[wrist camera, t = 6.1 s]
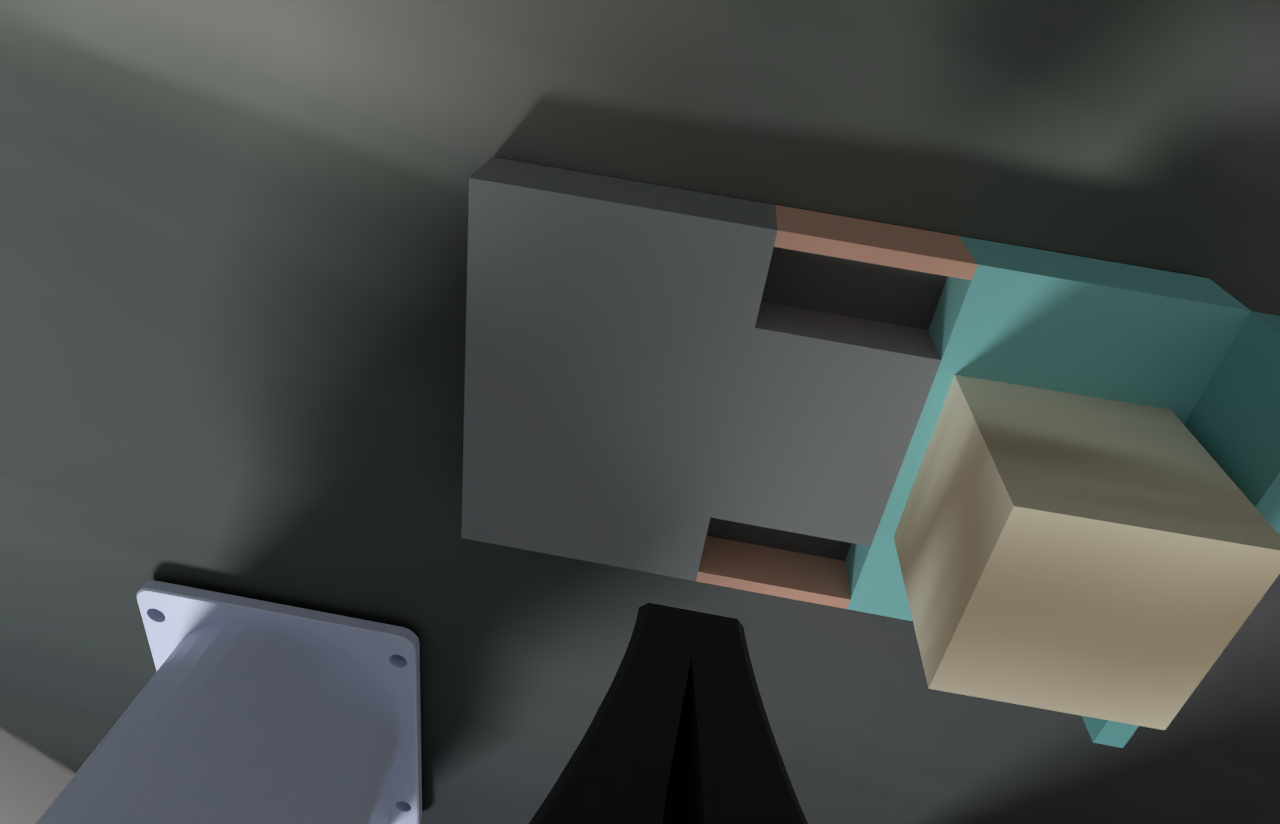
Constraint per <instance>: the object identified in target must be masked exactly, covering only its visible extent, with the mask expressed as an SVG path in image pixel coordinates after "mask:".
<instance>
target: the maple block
mask: <svg viewBox="0 0 1280 824" xmlns="http://www.w3.org/2000/svg"><path fill="white" fill-rule="evenodd" d="M894 542H895V546H896V550H897V555H898V559H899V563H900V568H901V572H902V576H903V581H904V585H905V589H906V594H907V598H908V602H909V607H910V611H911V615H912V619H913V624H914V628H915V632H916V637H917V641H918V645H919V650H920V654H921V658H922V663H923V667H924V671H925V676H926V680H927V684H928V689H934V690H939V691H945V692H951V693H956V694H962V695H968V696H973V697H979V698H985V699H990V700H996V701H1002V702H1007V703H1013V704H1019V705H1024V706H1030V707H1036V708H1041V709H1047V710H1053V711H1058V712H1064V713H1070V714H1075V715H1081V716H1087V717H1092V718H1098V719H1104V720H1109V721H1115V722H1121V723H1126V724H1132V725H1138V726H1143V727H1149V728H1155V729H1160V730H1166V728H1167V727H1168V725H1169V724H1170V723H1171V721H1172V720H1173V719H1174V717H1175V716H1176V715H1177V713H1178V712H1179V710H1180V709H1181V708H1182V706H1183V705H1184V704H1185V702H1186V701H1187V700H1188V698H1189V697H1190V695H1191V694H1192V693H1193V691H1194V690H1195V689H1196V687H1197V686H1198V684H1199V683H1200V682H1201V680H1202V679H1203V678H1204V676H1205V675H1206V674H1207V672H1208V671H1209V669H1210V668H1211V667H1212V665H1213V664H1214V663H1215V661H1216V660H1217V659H1218V657H1219V656H1220V654H1221V653H1222V652H1223V650H1224V649H1225V648H1226V646H1227V645H1228V643H1229V642H1230V641H1231V639H1232V638H1233V637H1234V635H1235V634H1236V633H1237V631H1238V630H1239V628H1240V627H1241V626H1242V624H1243V623H1244V622H1245V620H1246V619H1247V618H1248V616H1249V615H1250V613H1251V612H1252V611H1253V609H1254V608H1255V607H1256V605H1257V604H1258V602H1259V601H1260V600H1261V598H1262V597H1263V596H1264V594H1265V593H1266V592H1267V590H1268V589H1269V587H1270V586H1271V585H1272V583H1273V582H1274V581H1275V579H1276V578H1277V577H1278V575H1279V574H1280V535H1279V534H1278V533H1277V532H1276V531H1275V530H1274V528H1273V527H1272V526H1271V525H1270V524H1269V523H1268V522H1267V520H1266V519H1265V518H1264V517H1263V516H1262V515H1261V513H1260V512H1259V511H1258V510H1257V509H1256V508H1255V506H1254V505H1253V504H1252V503H1251V502H1250V501H1249V500H1248V498H1247V497H1246V496H1245V495H1244V494H1243V493H1242V491H1241V490H1240V489H1239V488H1238V487H1237V486H1236V484H1235V483H1234V482H1233V481H1232V480H1231V479H1230V478H1229V476H1228V475H1227V474H1226V473H1225V472H1224V471H1223V469H1222V468H1221V467H1220V466H1219V465H1218V464H1217V462H1216V461H1215V460H1214V459H1213V458H1212V457H1211V456H1210V454H1209V453H1208V452H1207V451H1206V450H1205V449H1204V447H1203V446H1202V445H1201V444H1200V443H1199V442H1198V440H1197V439H1196V438H1195V437H1194V436H1193V435H1192V434H1191V432H1190V431H1189V430H1188V429H1187V428H1186V427H1185V425H1184V424H1183V423H1182V422H1181V421H1180V420H1179V418H1178V417H1177V416H1176V415H1175V414H1174V413H1173V412H1172V410H1171V409H1164V408H1158V407H1152V406H1146V405H1140V404H1134V403H1127V402H1121V401H1115V400H1109V399H1103V398H1096V397H1090V396H1084V395H1078V394H1072V393H1065V392H1059V391H1053V390H1047V389H1041V388H1034V387H1028V386H1022V385H1016V384H1010V383H1004V382H997V381H991V380H985V379H979V378H973V377H966V376H960V375H954V377H953V380H952V383H951V385H950V388H949V391H948V393H947V396H946V399H945V401H944V404H943V407H942V409H941V412H940V415H939V417H938V420H937V423H936V425H935V428H934V430H933V433H932V436H931V438H930V441H929V444H928V446H927V449H926V452H925V454H924V457H923V460H922V462H921V465H920V468H919V470H918V473H917V476H916V478H915V481H914V484H913V486H912V489H911V492H910V494H909V497H908V500H907V502H906V505H905V508H904V510H903V513H902V516H901V518H900V521H899V524H898V526H897V529H896V532H895V534H894Z"/></svg>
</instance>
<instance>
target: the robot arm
mask: <svg viewBox="0 0 1280 824" xmlns="http://www.w3.org/2000/svg"><path fill="white" fill-rule="evenodd" d="M137 601H138V605H139V609H140V612H141V616H142V620H143V623H144V627H145V631H146V634H147V638H148V641H149V645H150V649H151V652H152V656H153V660H154V663H155V667H156V671H157V672H156V673H155V674H154V676H153V677H152V678H151V680H150V681H149V682H148V683H147V685H146V686H145V687H144V688H143V690H142V691H141V692H140V693H139V695H138V696H137V697H136V698H135V700H134V701H133V702H132V703H131V705H130V706H129V707H128V708H127V710H126V711H125V712H124V713H123V715H122V716H121V717H120V718H119V720H118V721H117V722H116V724H115V725H114V726H113V727H112V729H111V730H110V731H109V732H108V734H107V735H106V736H105V737H104V739H103V740H102V741H101V742H100V744H99V745H98V746H97V747H96V749H95V750H94V751H93V752H92V754H91V755H90V756H89V757H88V759H87V760H86V761H85V762H84V764H83V765H82V766H81V768H80V769H79V770H78V771H77V773H76V774H75V775H74V776H73V778H72V779H71V780H70V781H69V783H68V784H67V785H66V786H65V788H64V789H63V790H62V791H61V793H60V794H59V795H58V797H57V798H56V799H55V800H54V802H53V803H52V804H51V805H50V807H49V808H48V809H47V810H46V812H45V813H44V814H43V815H42V817H41V818H40V819H39V820H38V822H37V823H36V824H420V822H421V819H422V766H421V704H420V643H419V639H418V637H417V636H416V635H415V633H414V632H412V631H411V630H409V629H407V628H404V627H400V626H395V625H390V624H384V623H379V622H374V621H368V620H363V619H358V618H352V617H347V616H342V615H336V614H331V613H326V612H321V611H315V610H310V609H305V608H299V607H294V606H289V605H283V604H278V603H273V602H267V601H262V600H257V599H251V598H246V597H241V596H235V595H230V594H225V593H219V592H214V591H209V590H203V589H198V588H193V587H188V586H182V585H177V584H172V583H166V582H161V581H149V582H146V583H145V584H144V585H143V587H142V588H141V589H140V590H139V591H138V592H137ZM529 824H808V823H807V821H806V818H805V816H804V814H803V811H802V809H801V807H800V804H799V802H798V799H797V797H796V794H795V792H794V789H793V787H792V784H791V782H790V779H789V777H788V774H787V771H786V769H785V766H784V763H783V760H782V758H781V755H780V752H779V749H778V747H777V744H776V741H775V738H774V736H773V733H772V730H771V727H770V724H769V721H768V718H767V715H766V712H765V709H764V706H763V703H762V699H761V696H760V693H759V689H758V686H757V683H756V679H755V676H754V672H753V668H752V665H751V661H750V657H749V652H748V648H747V644H746V639H745V634H744V628H743V626H742V625H741V623H740V622H739V621H738V620H737V619H734V618H729V617H723V616H718V615H712V614H707V613H701V612H696V611H690V610H685V609H679V608H674V607H668V606H663V605H657V604H652V603H647V604H645V605H643V606H641V607H639V611H638V615H637V620H636V624H635V627H634V630H633V634H632V637H631V640H630V642H629V645H628V648H627V650H626V653H625V655H624V658H623V660H622V662H621V664H620V667H619V669H618V671H617V673H616V676H615V678H614V680H613V682H612V684H611V686H610V688H609V690H608V692H607V694H606V696H605V698H604V700H603V702H602V704H601V706H600V707H599V709H598V711H597V713H596V715H595V717H594V719H593V721H592V723H591V725H590V727H589V728H588V730H587V732H586V734H585V736H584V737H583V739H582V741H581V742H580V744H579V746H578V747H577V749H576V751H575V752H574V754H573V755H572V757H571V759H570V760H569V762H568V764H567V765H566V767H565V769H564V770H563V772H562V774H561V775H560V777H559V779H558V780H557V782H556V783H555V785H554V787H553V788H552V790H551V791H550V793H549V794H548V796H547V797H546V799H545V800H544V802H543V803H542V805H541V806H540V808H539V810H538V811H537V813H536V814H535V815H534V817H533V818H532V820H531V821H530V823H529Z"/></svg>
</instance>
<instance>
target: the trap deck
mask: <svg viewBox="0 0 1280 824" xmlns="http://www.w3.org/2000/svg"><path fill="white" fill-rule="evenodd" d="M954 375H960V376H966V377H973V378H979V379H985V380H991V381H997V382H1004V383H1010V384H1016V385H1022V386H1028V387H1034V388H1041V389H1047V390H1053V391H1059V392H1065V393H1072V394H1078V395H1084V396H1090V397H1096V398H1103V399H1109V400H1115V401H1121V402H1127V403H1134V404H1140V405H1146V406H1152V407H1158V408H1164V409H1171V410H1172V412H1173V413H1174V414H1175V415H1176V416H1177V417H1178V418H1179V420H1180V421H1181V422H1182V423H1183V424H1184V425H1185V427H1186V428H1187V429H1188V430H1189V431H1190V432H1191V434H1192V435H1193V436H1194V437H1195V438H1196V439H1197V440H1198V442H1199V443H1200V444H1201V445H1202V446H1203V447H1204V449H1205V450H1206V451H1207V452H1208V453H1209V454H1210V456H1211V457H1212V458H1213V459H1214V460H1215V461H1216V462H1217V464H1218V465H1219V466H1220V467H1221V468H1222V469H1223V471H1224V472H1225V473H1226V474H1227V475H1228V476H1229V478H1230V479H1231V480H1232V481H1233V482H1234V483H1235V484H1236V486H1237V487H1238V488H1239V489H1240V490H1241V491H1242V493H1243V494H1244V495H1245V496H1246V497H1247V498H1248V500H1249V501H1250V502H1251V503H1252V504H1253V505H1254V506H1255V508H1256V509H1257V510H1258V511H1259V512H1260V513H1261V515H1262V516H1263V517H1264V518H1265V519H1266V520H1267V522H1268V523H1269V524H1270V525H1271V526H1272V527H1273V528H1274V530H1275V531H1276V532H1277V533H1278V534H1279V533H1280V316H1277V315H1271V314H1266V313H1260V312H1254V311H1251V310H1249V309H1248V308H1247V307H1245V306H1244V305H1243V304H1242V303H1240V302H1239V301H1238V300H1236V299H1235V298H1234V297H1232V296H1231V295H1230V294H1229V293H1227V292H1226V291H1225V290H1223V289H1222V288H1221V287H1220V286H1218V285H1217V284H1216V283H1214V282H1213V281H1212V280H1211V279H1209V278H1204V277H1198V276H1192V275H1186V274H1181V273H1175V272H1169V271H1163V270H1157V269H1151V268H1145V267H1139V266H1133V265H1127V264H1122V263H1116V262H1110V261H1104V260H1098V259H1092V258H1086V257H1080V256H1074V255H1068V254H1063V253H1057V252H1051V251H1045V250H1039V249H1033V248H1027V247H1021V246H1015V245H1009V244H1004V243H998V242H992V241H986V240H980V239H974V238H968V237H962V236H956V235H950V234H945V233H939V232H933V231H927V230H921V229H915V228H909V227H903V226H897V225H891V224H886V223H880V222H874V221H868V220H862V219H856V218H850V217H844V216H838V215H832V214H827V213H821V212H815V211H809V210H803V209H797V208H791V207H785V206H779V205H773V204H768V203H762V202H756V201H750V200H744V199H738V198H732V197H726V196H720V195H714V194H709V193H703V192H697V191H691V190H685V189H679V188H673V187H667V186H661V185H655V184H650V183H644V182H638V181H632V180H626V179H620V178H614V177H608V176H602V175H596V174H591V173H585V172H579V171H573V170H567V169H561V168H555V167H549V166H543V165H537V164H532V163H526V162H520V161H514V160H508V159H502V158H496V157H492V158H491V159H489V160H488V161H487V162H486V163H485V164H484V165H483V166H482V167H480V168H479V169H478V170H477V171H476V172H475V173H474V174H473V175H472V176H470V177H469V205H468V251H467V297H466V344H465V390H464V437H463V483H462V529H461V538H464V539H469V540H474V541H480V542H485V543H491V544H496V545H502V546H507V547H512V548H518V549H523V550H529V551H534V552H540V553H545V554H550V555H556V556H561V557H567V558H572V559H578V560H583V561H588V562H594V563H599V564H605V565H610V566H616V567H621V568H626V569H632V570H637V571H643V572H648V573H654V574H659V575H664V576H670V577H675V578H681V579H686V580H692V581H697V582H702V583H708V584H713V585H719V586H724V587H730V588H735V589H740V590H746V591H751V592H757V593H762V594H768V595H773V596H778V597H784V598H789V599H795V600H800V601H806V602H811V603H816V604H822V605H827V606H833V607H838V608H844V609H849V610H854V611H860V612H865V613H871V614H876V615H882V616H887V617H892V618H898V619H903V620H909V621H913V619H912V615H911V611H910V607H909V602H908V598H907V594H906V589H905V585H904V581H903V576H902V572H901V568H900V563H899V559H898V555H897V550H896V546H895V542H894V534H895V532H896V529H897V526H898V524H899V521H900V518H901V516H902V513H903V510H904V508H905V505H906V502H907V500H908V497H909V494H910V492H911V489H912V486H913V484H914V481H915V478H916V476H917V473H918V470H919V468H920V465H921V462H922V460H923V457H924V454H925V452H926V449H927V446H928V444H929V441H930V438H931V436H932V433H933V430H934V428H935V425H936V423H937V420H938V417H939V415H940V412H941V409H942V407H943V404H944V401H945V399H946V396H947V393H948V391H949V388H950V385H951V383H952V380H953V377H954ZM1082 718H1083V720H1084V723H1085V725H1086V727H1087V730H1088V732H1089V735H1090V737H1091V739H1092V742H1093V743H1098V744H1104V745H1109V746H1114V747H1120V748H1123V747H1124V746H1125V745H1126V743H1127V742H1128V740H1129V739H1130V738H1131V736H1132V735H1133V734H1134V732H1135V731H1136V729H1137V728H1138V727H1139V726H1138V725H1132V724H1126V723H1121V722H1115V721H1109V720H1104V719H1098V718H1092V717H1087V716H1082Z"/></svg>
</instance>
